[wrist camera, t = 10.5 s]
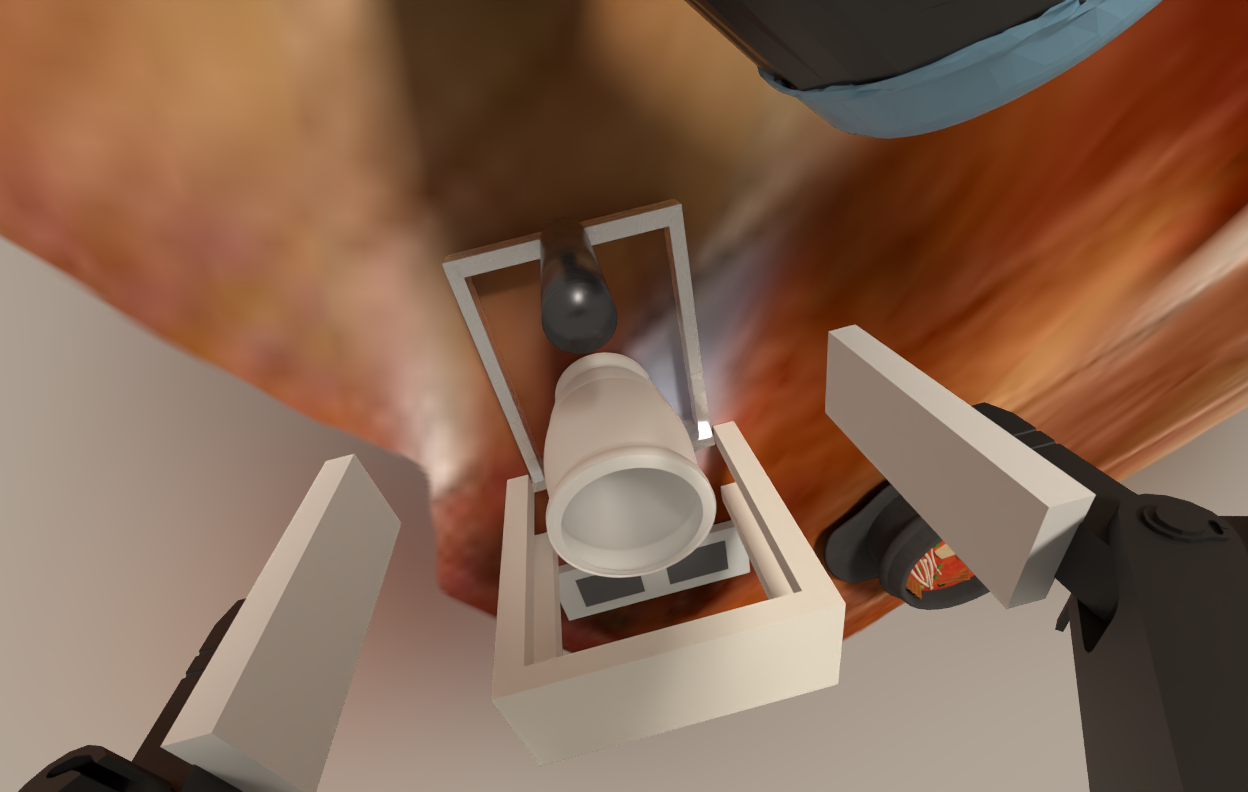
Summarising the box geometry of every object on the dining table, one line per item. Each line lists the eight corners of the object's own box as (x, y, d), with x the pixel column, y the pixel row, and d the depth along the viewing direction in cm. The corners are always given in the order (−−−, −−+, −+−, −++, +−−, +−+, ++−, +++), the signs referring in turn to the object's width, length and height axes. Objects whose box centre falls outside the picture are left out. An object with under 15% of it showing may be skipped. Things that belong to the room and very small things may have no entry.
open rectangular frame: (507, 479, 45) (490, 700, 28) (733, 420, 45) (845, 603, 29) (568, 613, 57) (581, 821, 40) (746, 565, 57) (831, 752, 41)
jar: (686, 386, 42) (751, 507, 30) (608, 460, 45) (636, 599, 33) (597, 314, 37) (629, 422, 25) (517, 402, 40) (508, 539, 28)
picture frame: (440, 240, 32) (377, 333, 19) (671, 182, 32) (759, 237, 20) (534, 469, 43) (533, 621, 31) (704, 424, 44) (773, 557, 31)
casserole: (837, 591, 63) (875, 652, 56) (796, 510, 53) (835, 573, 46) (1022, 505, 60) (1087, 559, 53) (1014, 402, 50) (1093, 452, 43)
